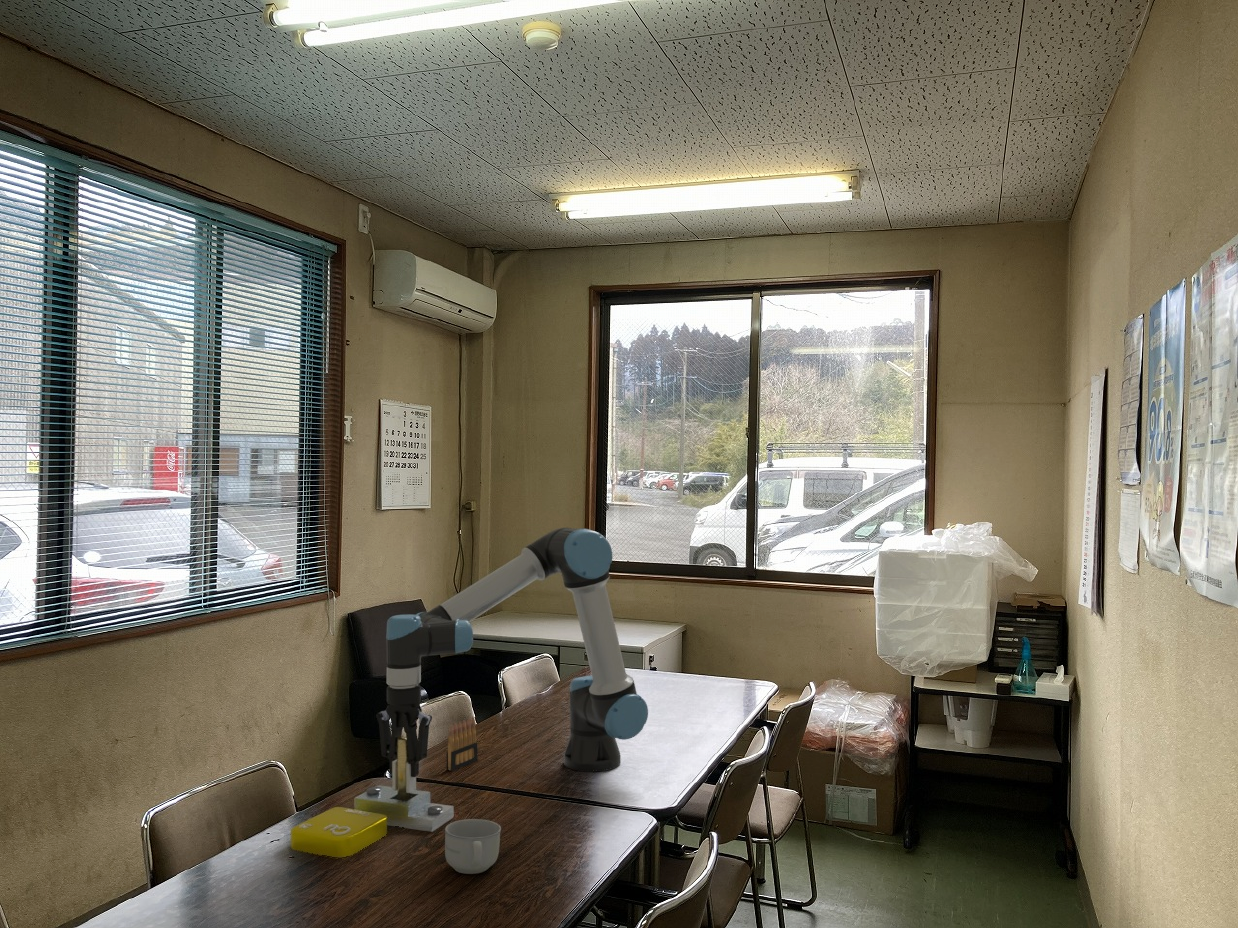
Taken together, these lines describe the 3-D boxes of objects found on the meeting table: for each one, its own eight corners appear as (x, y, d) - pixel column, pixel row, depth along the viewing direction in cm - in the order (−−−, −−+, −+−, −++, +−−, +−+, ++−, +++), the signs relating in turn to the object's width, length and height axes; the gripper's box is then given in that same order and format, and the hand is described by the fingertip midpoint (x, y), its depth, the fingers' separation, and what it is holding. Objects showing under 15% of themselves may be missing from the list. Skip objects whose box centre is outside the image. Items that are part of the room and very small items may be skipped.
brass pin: (413, 799, 205) (413, 737, 206) (406, 803, 203) (405, 740, 203) (402, 797, 206) (402, 735, 207) (394, 802, 204) (394, 739, 204)
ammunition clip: (451, 771, 237) (451, 725, 238) (446, 770, 238) (445, 724, 239) (478, 760, 247) (477, 716, 247) (472, 759, 248) (472, 715, 248)
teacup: (448, 857, 183) (447, 817, 184) (502, 855, 184) (502, 815, 184) (440, 888, 170) (440, 844, 170) (499, 885, 170) (498, 842, 171)
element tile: (391, 834, 196) (391, 812, 196) (344, 861, 183) (344, 837, 183) (335, 824, 202) (335, 803, 202) (286, 850, 188) (286, 827, 189)
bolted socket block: (453, 817, 205) (453, 791, 205) (432, 831, 197) (432, 804, 197) (378, 806, 212) (378, 781, 212) (354, 820, 204) (354, 794, 204)
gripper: (443, 683, 206) (444, 788, 205) (383, 678, 211) (383, 780, 211) (425, 690, 199) (426, 799, 198) (363, 685, 204) (363, 791, 204)
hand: (404, 789), depth 205 cm, fingers closed on brass pin, 3 cm apart
